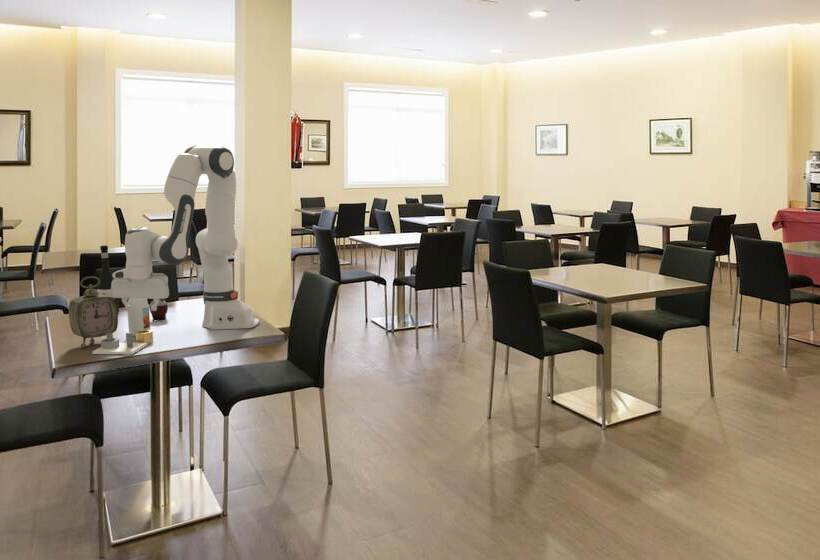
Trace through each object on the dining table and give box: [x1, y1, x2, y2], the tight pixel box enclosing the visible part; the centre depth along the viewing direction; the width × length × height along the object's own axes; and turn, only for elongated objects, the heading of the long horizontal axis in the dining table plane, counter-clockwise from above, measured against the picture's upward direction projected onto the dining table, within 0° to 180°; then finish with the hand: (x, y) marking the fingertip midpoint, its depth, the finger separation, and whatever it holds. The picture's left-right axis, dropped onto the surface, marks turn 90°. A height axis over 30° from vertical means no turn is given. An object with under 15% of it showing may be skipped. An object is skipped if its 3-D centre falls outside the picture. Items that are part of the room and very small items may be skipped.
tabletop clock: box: [68, 275, 119, 349], centre depth 253 cm, size 14×9×25 cm, turn 138°
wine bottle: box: [96, 244, 120, 313], centre depth 305 cm, size 8×8×30 cm
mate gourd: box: [149, 299, 169, 322], centre depth 294 cm, size 8×8×15 cm
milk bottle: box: [126, 298, 151, 337], centre depth 268 cm, size 8×8×20 cm
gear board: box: [92, 332, 148, 355], centre depth 246 cm, size 14×12×6 cm
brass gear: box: [135, 329, 154, 344], centre depth 257 cm, size 5×5×4 cm
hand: (141, 310), depth 255 cm, fingers open, 8 cm apart
